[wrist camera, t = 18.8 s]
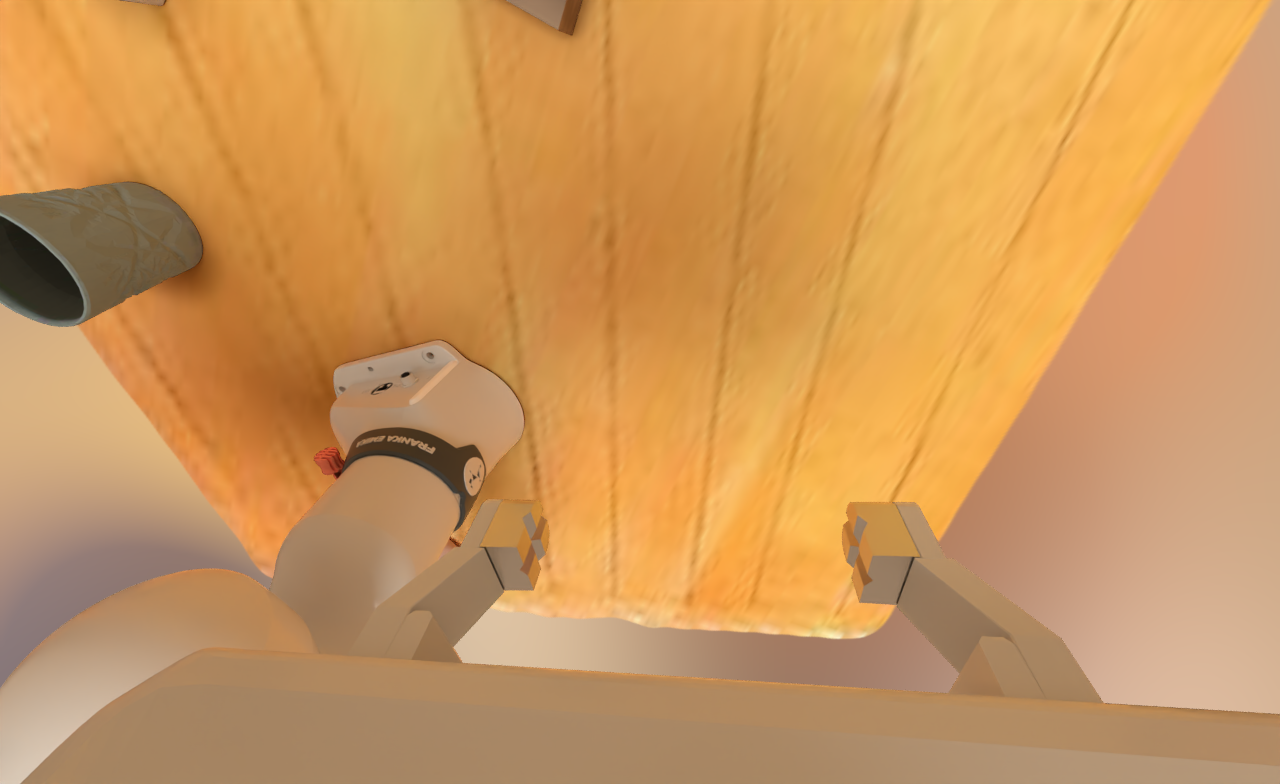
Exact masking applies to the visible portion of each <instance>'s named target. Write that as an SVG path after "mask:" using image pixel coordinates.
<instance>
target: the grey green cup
mask: <svg viewBox="0 0 1280 784" xmlns="http://www.w3.org/2000/svg"><path fill="white" fill-rule="evenodd" d="M202 253H203V247H202V241H201V238H200V235H199V233H198V231H197V229H196V227H195V225H194V224H193V222H192V221H191V219H190V218H189V217H188V215H187V214H186V213H185V212H184V211H183V210H182V208H181V207H180V206H179V205H178V204H176V203H175V202H174V201H173V200H171V199H170V198H169V197H168V196H166V195H164V194H163V193H162V192H161V191H159V190H155V189H153V188H152V187H149V186H147V185H143V184H139V183H134V182H120V183H112V184H104V185H97V186H91V187H86V188H83V189H71V188H67V189H62V190H52V191H46V192H40V193H33V194H31V193H21V194H14V195H3V196H0V303H1V304H3V305H5V306H6V307H8V308H9V309H11V310H13V311H14V312H16V313H19V314H21V315H23V316H25V317H27V318H30V319H32V320H34V321H37V322H40V323H43V324H47V325H51V326H58V327H69V326H75V325H79V324H81V323H83V322H85V321H87V320H89V319H91V318H93V317H95V316H96V315H98V314H100V313H102V312H104V311H106V310H108V309H110V308H112V307H114V306H116V305H118V304H120V303H122V302H124V301H125V299H126V298H129V297H132V295H138V294H139V293H142V292H143V291H145V290H147V289H149V288H151V287H153V286H155V285H157V284H159V283H162V281H163V280H167V279H168V278H169V277H174V276H177V275H179V274H181V273H183V272H184V271H187V270H189V269H191V268H193V267H194V266H195V265H196V264H197V263H198V262H199V261H200V259H201V257H202Z"/></svg>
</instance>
